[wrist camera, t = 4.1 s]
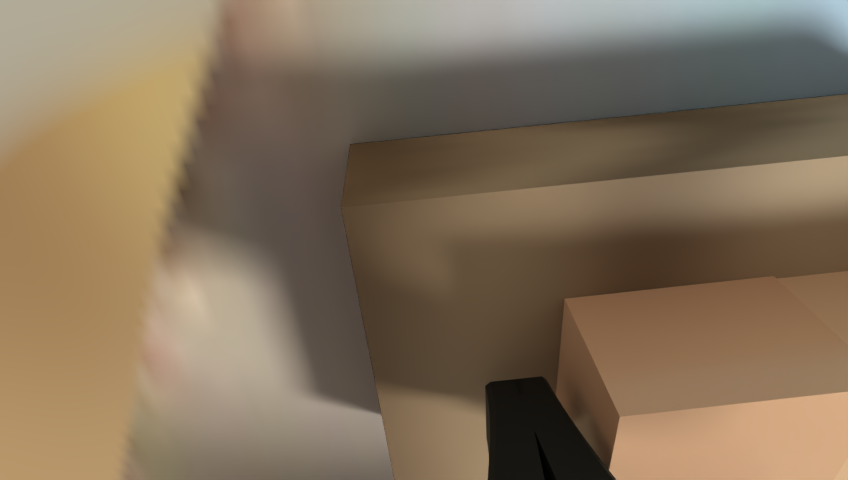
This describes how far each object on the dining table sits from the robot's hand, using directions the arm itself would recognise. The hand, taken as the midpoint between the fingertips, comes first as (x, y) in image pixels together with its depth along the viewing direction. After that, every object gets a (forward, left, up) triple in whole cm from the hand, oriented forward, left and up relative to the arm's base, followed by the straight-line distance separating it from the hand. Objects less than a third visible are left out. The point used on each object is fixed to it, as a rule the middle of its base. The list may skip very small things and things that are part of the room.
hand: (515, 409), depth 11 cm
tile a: (-3, 0, -1) cm, 4 cm away
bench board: (-3, 0, -4) cm, 5 cm away
